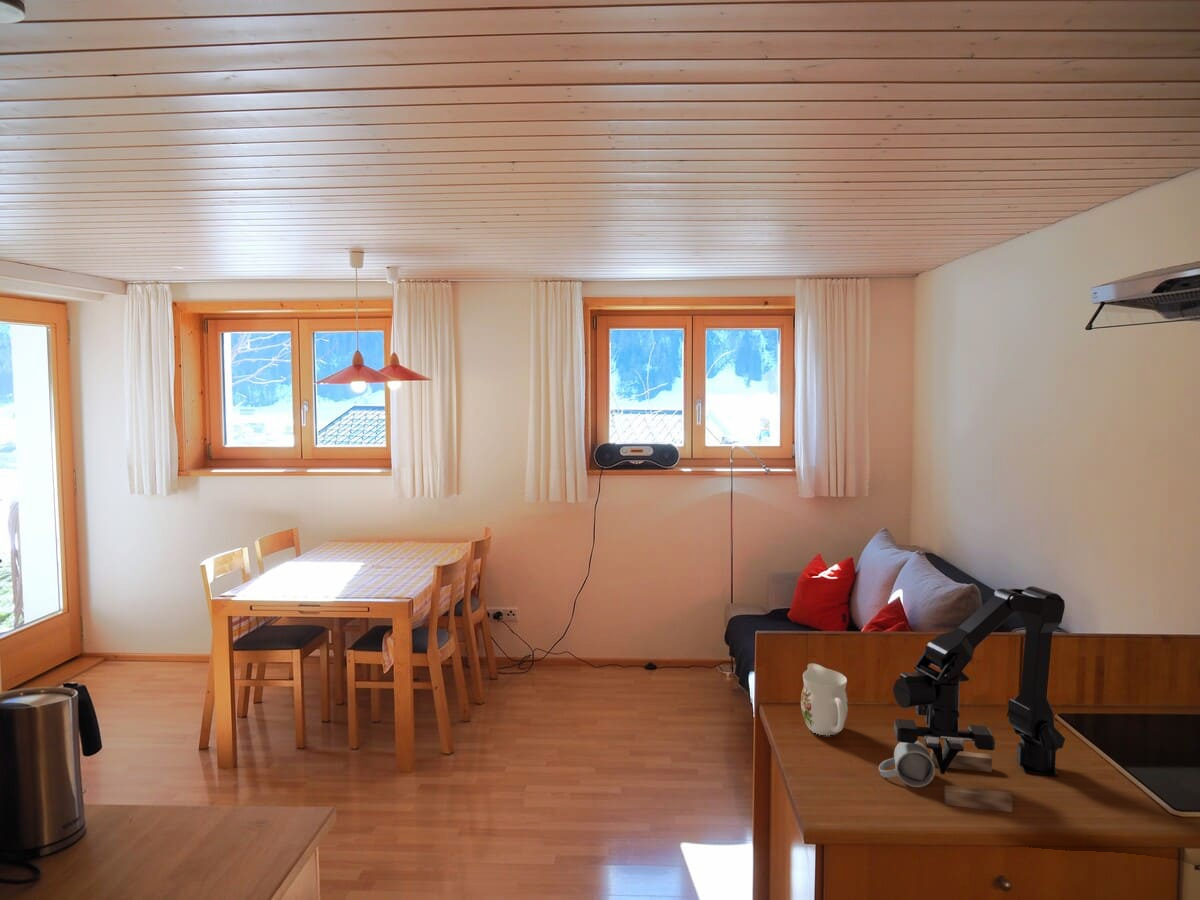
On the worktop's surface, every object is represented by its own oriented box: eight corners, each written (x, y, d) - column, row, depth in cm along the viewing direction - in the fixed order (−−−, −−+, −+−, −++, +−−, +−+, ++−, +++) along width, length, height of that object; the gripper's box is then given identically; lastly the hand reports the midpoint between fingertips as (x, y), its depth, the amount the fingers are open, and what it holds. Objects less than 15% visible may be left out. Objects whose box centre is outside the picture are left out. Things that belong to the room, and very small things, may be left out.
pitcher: (819, 751, 177) (820, 693, 176) (789, 717, 195) (790, 664, 194) (864, 747, 179) (865, 690, 178) (831, 714, 197) (832, 661, 195)
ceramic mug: (928, 770, 168) (928, 736, 168) (935, 789, 160) (935, 753, 160) (876, 765, 171) (876, 732, 170) (881, 784, 163) (881, 749, 162)
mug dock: (989, 767, 169) (989, 754, 169) (1012, 812, 152) (1012, 797, 152) (930, 761, 172) (930, 748, 172) (946, 804, 155) (946, 790, 154)
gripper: (983, 689, 167) (980, 759, 169) (891, 683, 172) (890, 750, 173) (996, 711, 156) (994, 785, 158) (898, 703, 161) (896, 775, 162)
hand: (942, 773), depth 163 cm, fingers closed
